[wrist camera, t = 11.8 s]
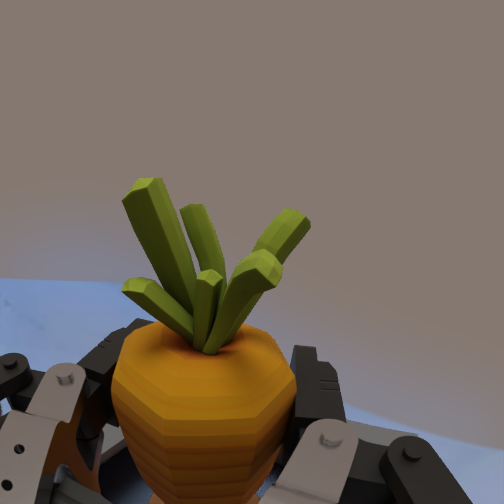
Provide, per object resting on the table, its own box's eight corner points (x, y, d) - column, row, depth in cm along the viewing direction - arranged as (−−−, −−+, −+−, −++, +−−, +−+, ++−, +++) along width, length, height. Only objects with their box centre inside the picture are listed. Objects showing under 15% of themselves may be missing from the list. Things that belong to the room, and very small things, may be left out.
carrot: (264, 492, 11) (324, 191, 8) (246, 564, 6) (352, 194, 3) (176, 471, 12) (162, 178, 9) (142, 535, 7) (39, 177, 4)
